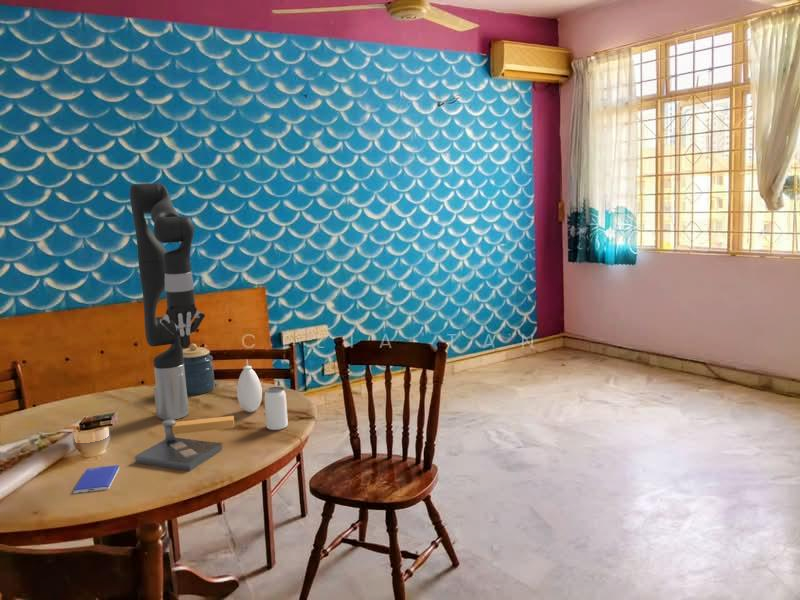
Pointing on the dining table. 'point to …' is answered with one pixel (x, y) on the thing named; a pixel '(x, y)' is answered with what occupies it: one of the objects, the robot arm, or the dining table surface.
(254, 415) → the dining table surface
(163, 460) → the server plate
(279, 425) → the can
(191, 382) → the canister
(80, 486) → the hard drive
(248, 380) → the sauce bottle
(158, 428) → the dining table surface
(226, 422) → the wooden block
